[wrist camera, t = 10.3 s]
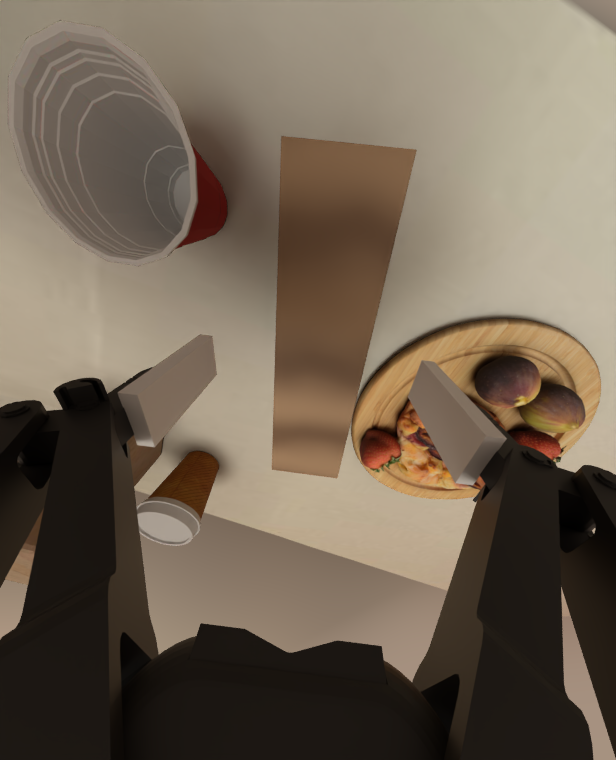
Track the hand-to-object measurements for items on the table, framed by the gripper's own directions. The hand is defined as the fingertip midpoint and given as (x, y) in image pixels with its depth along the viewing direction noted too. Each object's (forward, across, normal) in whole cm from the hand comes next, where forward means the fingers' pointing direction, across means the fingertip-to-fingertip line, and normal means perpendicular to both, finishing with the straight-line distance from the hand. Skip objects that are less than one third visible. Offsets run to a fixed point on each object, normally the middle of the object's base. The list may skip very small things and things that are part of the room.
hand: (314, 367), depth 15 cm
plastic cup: (+16, -13, +10) cm, 23 cm away
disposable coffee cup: (+15, -18, -30) cm, 39 cm away
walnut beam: (+9, 0, 0) cm, 9 cm away
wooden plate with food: (+16, +23, -14) cm, 31 cm away
